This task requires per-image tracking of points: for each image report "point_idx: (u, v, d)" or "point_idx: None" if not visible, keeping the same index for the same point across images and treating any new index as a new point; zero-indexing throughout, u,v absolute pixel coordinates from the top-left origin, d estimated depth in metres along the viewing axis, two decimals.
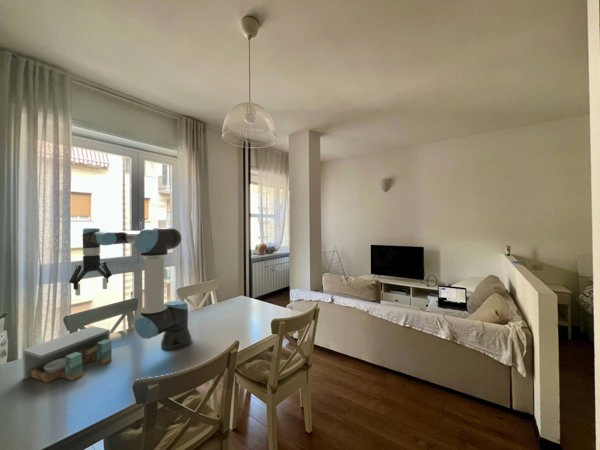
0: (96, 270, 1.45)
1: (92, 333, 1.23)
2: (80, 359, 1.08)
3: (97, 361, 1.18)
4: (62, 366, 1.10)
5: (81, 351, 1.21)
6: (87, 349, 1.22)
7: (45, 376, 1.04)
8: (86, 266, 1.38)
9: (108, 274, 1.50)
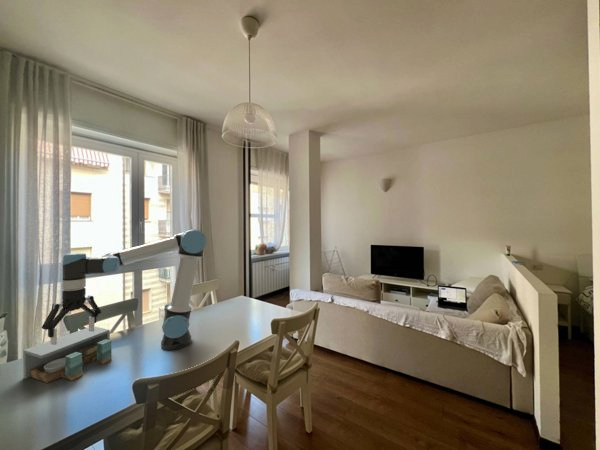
0: (80, 307, 1.11)
1: (92, 333, 1.23)
2: (80, 359, 1.08)
3: (97, 361, 1.18)
4: (62, 366, 1.10)
5: (81, 351, 1.21)
6: (87, 349, 1.22)
7: (45, 376, 1.04)
8: (66, 304, 1.05)
9: (96, 311, 1.16)
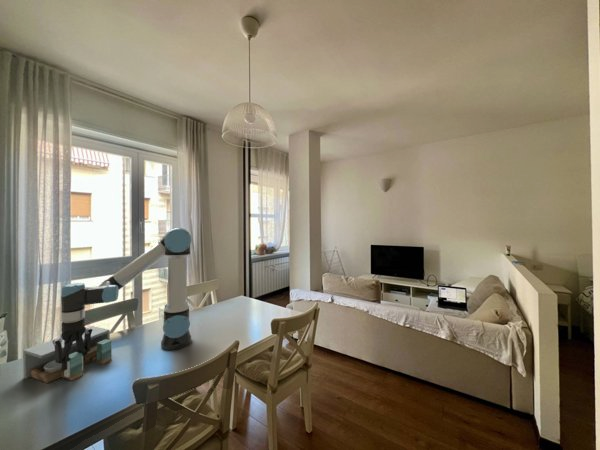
0: (75, 340, 1.09)
1: (92, 333, 1.23)
2: (80, 359, 1.08)
3: (97, 361, 1.18)
4: None
5: None
6: None
7: (45, 376, 1.04)
8: (66, 337, 1.04)
9: (86, 348, 1.12)
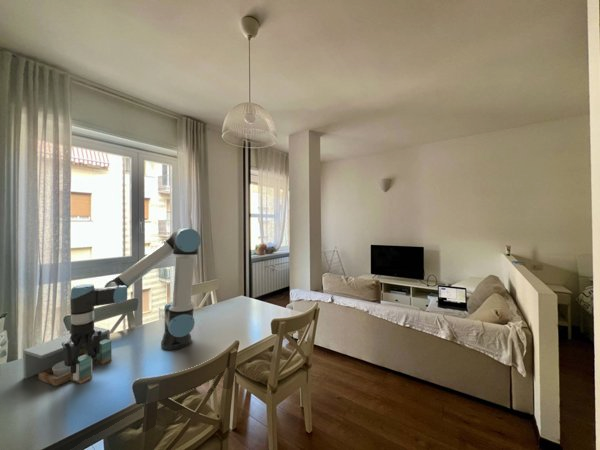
0: None
1: None
2: (89, 362, 1.06)
3: (97, 361, 1.18)
4: None
5: (81, 351, 1.21)
6: None
7: (54, 379, 1.02)
8: (75, 339, 1.02)
9: (95, 350, 1.10)
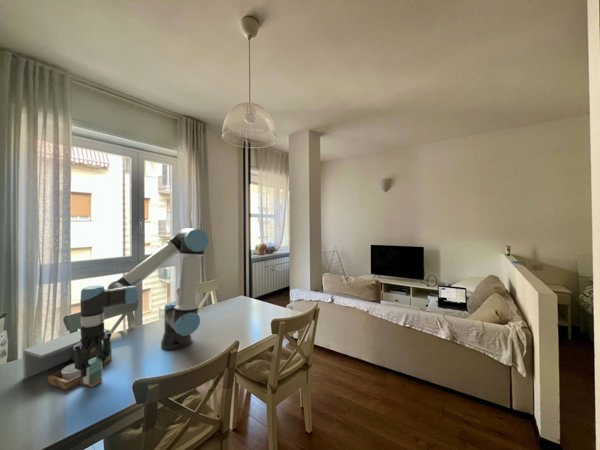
0: (94, 345, 1.05)
1: None
2: (99, 365, 1.04)
3: None
4: None
5: (81, 351, 1.21)
6: None
7: (64, 383, 0.99)
8: (86, 342, 1.00)
9: (105, 353, 1.07)
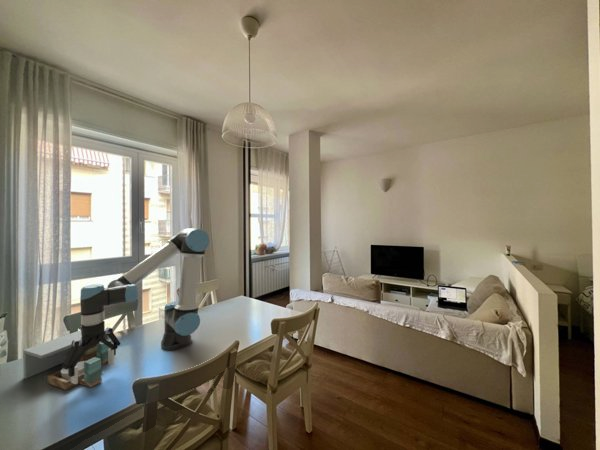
0: None
1: None
2: (99, 365, 1.04)
3: None
4: (81, 370, 1.07)
5: None
6: (87, 349, 1.22)
7: (63, 383, 0.99)
8: (86, 340, 1.00)
9: (115, 343, 1.11)
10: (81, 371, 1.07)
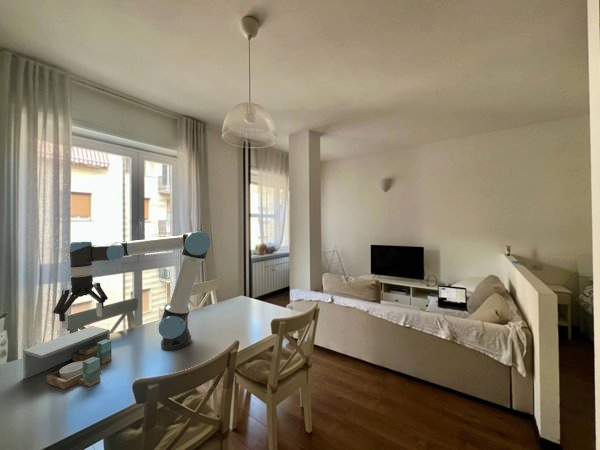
0: None
1: (92, 333, 1.23)
2: (98, 364, 1.04)
3: None
4: (79, 370, 1.07)
5: (81, 351, 1.21)
6: (87, 349, 1.22)
7: (62, 382, 1.00)
8: (75, 290, 1.09)
9: (103, 297, 1.20)
10: (79, 371, 1.07)
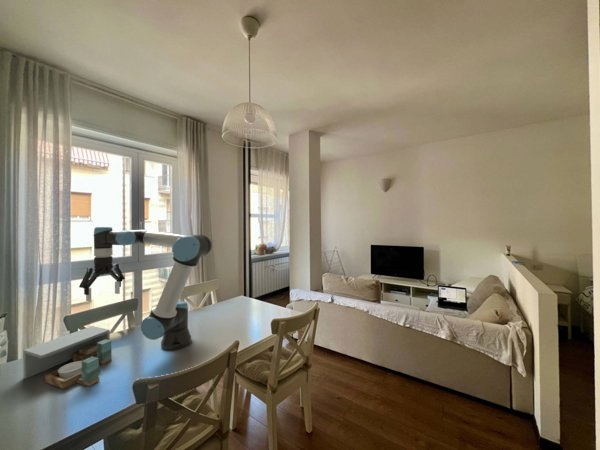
0: (108, 273, 1.32)
1: (92, 333, 1.23)
2: (97, 364, 1.04)
3: None
4: (78, 369, 1.07)
5: (81, 351, 1.21)
6: (87, 349, 1.22)
7: (61, 382, 1.00)
8: (98, 269, 1.25)
9: (121, 277, 1.37)
10: (78, 371, 1.07)
